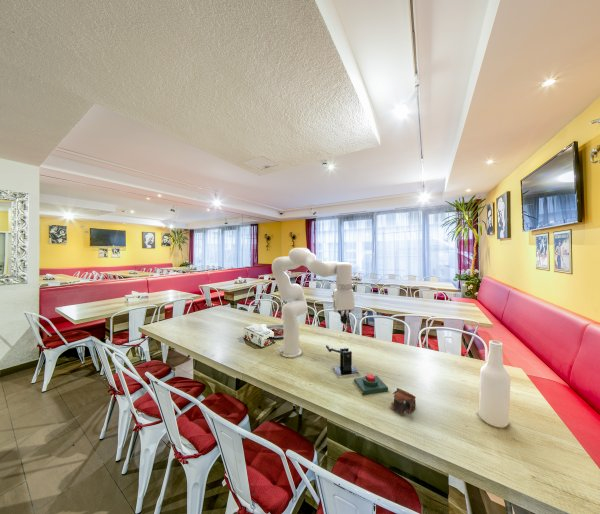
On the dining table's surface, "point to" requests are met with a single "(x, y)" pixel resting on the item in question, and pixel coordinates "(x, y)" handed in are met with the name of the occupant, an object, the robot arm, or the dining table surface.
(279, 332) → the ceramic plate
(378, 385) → the button block
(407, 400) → the miniature brown house
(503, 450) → the dining table surface
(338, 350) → the switch lever
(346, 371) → the switch bracket
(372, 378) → the red push button
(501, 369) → the alcohol
